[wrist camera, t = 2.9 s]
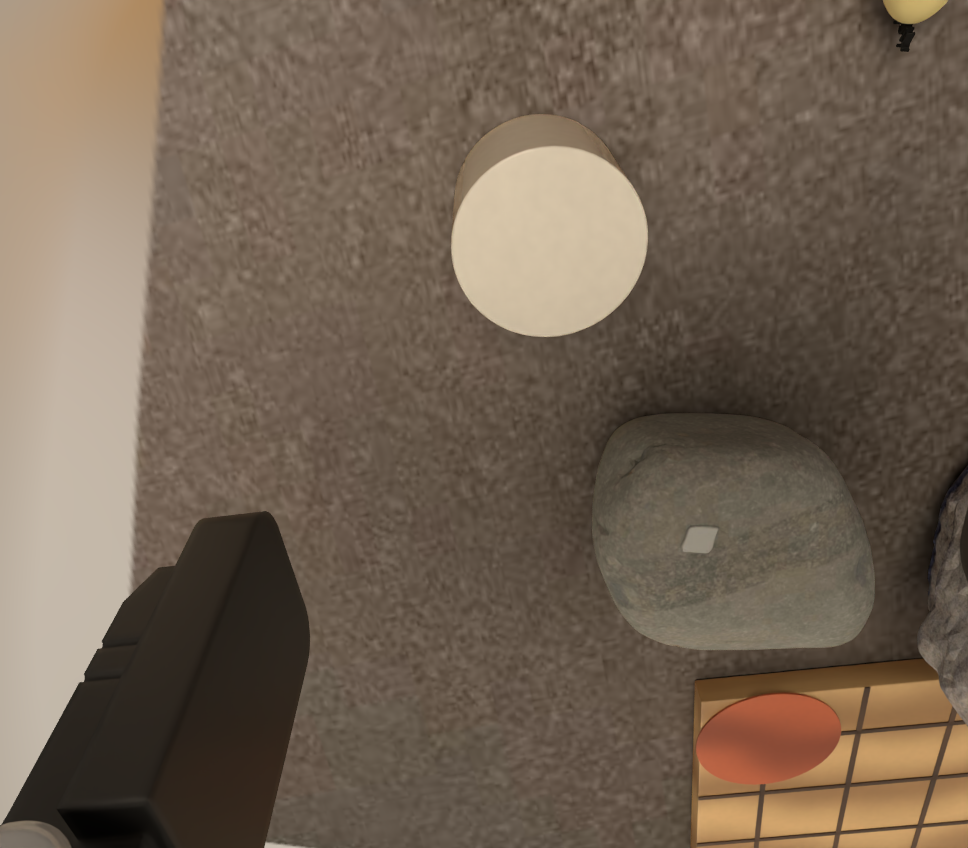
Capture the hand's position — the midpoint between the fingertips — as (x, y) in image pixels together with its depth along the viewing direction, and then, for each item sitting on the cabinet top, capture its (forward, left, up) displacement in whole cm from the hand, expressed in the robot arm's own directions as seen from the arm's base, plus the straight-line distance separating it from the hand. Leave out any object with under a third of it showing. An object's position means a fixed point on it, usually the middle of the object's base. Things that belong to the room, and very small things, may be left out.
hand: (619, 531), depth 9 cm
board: (+30, +12, -16) cm, 36 cm away
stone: (+13, +5, -16) cm, 21 cm away
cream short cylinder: (+1, 0, -16) cm, 16 cm away
